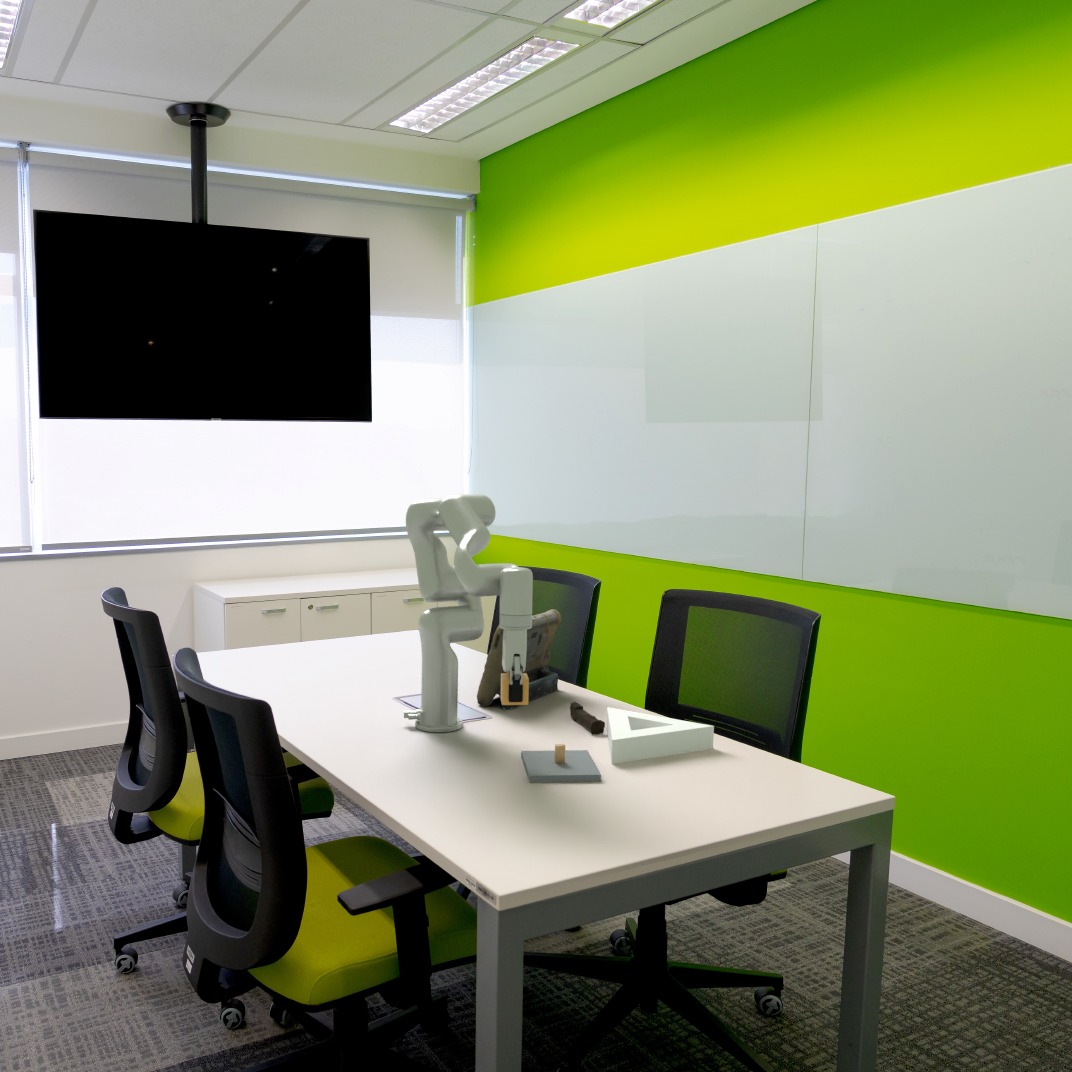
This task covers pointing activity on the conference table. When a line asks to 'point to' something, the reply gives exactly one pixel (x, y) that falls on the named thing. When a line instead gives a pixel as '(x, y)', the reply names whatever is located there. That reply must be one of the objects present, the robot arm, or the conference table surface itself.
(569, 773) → the peg board
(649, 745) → the triangle block
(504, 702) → the orange cube
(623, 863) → the conference table surface
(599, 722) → the brown piece
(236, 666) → the conference table surface
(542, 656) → the tablet
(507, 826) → the conference table surface
